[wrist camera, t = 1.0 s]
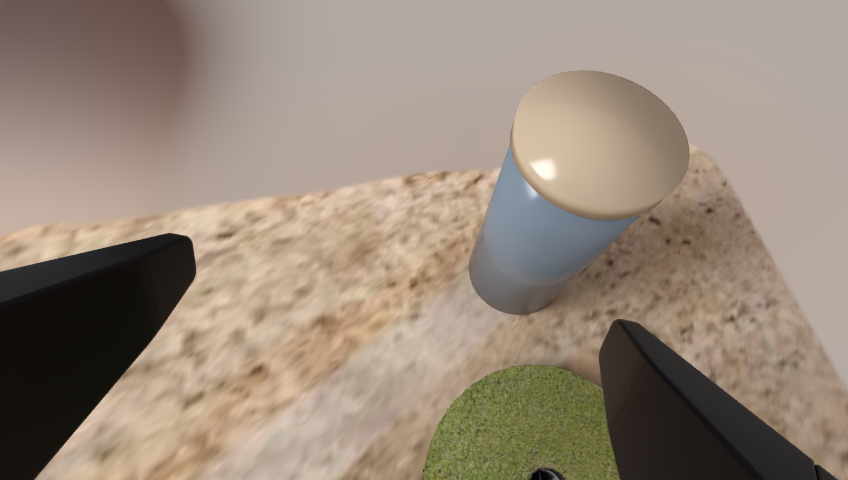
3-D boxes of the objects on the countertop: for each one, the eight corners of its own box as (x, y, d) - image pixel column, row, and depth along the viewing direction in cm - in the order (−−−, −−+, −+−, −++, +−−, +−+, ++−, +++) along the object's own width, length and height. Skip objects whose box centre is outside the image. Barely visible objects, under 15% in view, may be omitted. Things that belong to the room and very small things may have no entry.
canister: (580, 291, 25) (727, 166, 13) (498, 334, 23) (584, 236, 12) (527, 214, 27) (614, 52, 16) (449, 250, 25) (483, 101, 14)
